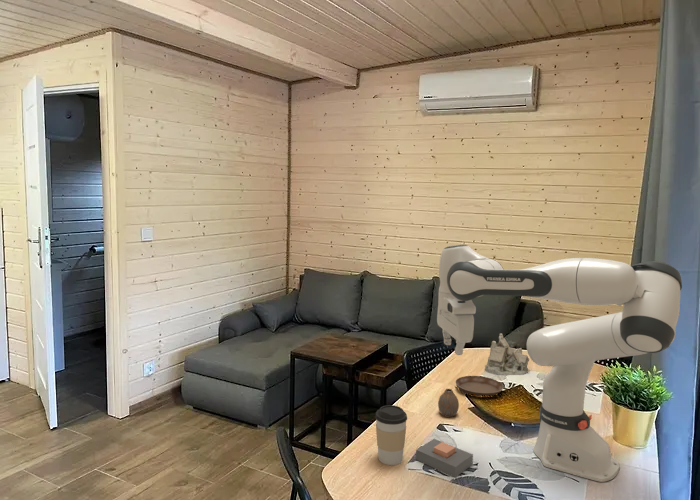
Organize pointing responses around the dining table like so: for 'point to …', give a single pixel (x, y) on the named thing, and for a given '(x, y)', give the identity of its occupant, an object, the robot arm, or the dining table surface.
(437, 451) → the button
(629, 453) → the dining table surface
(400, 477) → the dining table surface
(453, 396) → the vase
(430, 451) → the block
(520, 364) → the ceramic cottage
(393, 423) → the coffee cup
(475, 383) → the plant saucer
